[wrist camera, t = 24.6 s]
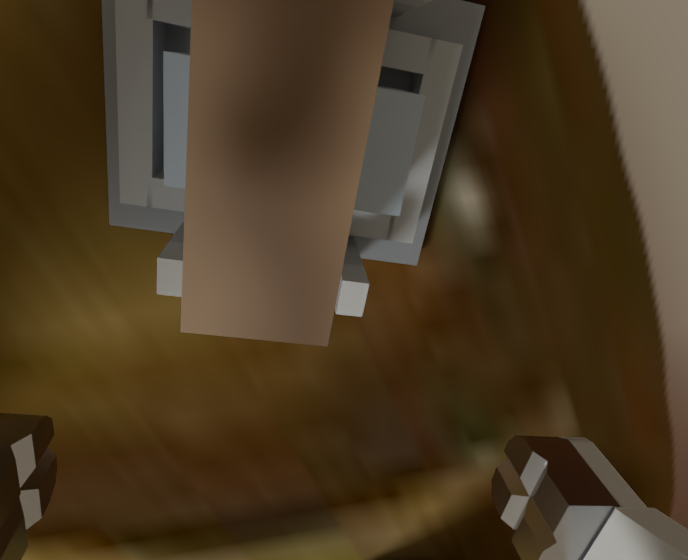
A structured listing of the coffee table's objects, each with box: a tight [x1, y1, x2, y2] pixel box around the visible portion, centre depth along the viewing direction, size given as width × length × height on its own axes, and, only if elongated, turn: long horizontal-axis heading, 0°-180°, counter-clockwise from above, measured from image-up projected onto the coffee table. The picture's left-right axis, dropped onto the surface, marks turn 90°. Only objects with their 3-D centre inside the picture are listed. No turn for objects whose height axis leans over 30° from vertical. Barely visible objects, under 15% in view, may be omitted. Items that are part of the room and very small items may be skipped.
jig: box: [101, 0, 485, 317], centre depth 17 cm, size 14×12×6 cm
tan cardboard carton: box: [180, 0, 394, 346], centre depth 13 cm, size 4×10×4 cm, turn 170°
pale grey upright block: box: [163, 51, 425, 216], centre depth 17 cm, size 8×4×4 cm, turn 81°
